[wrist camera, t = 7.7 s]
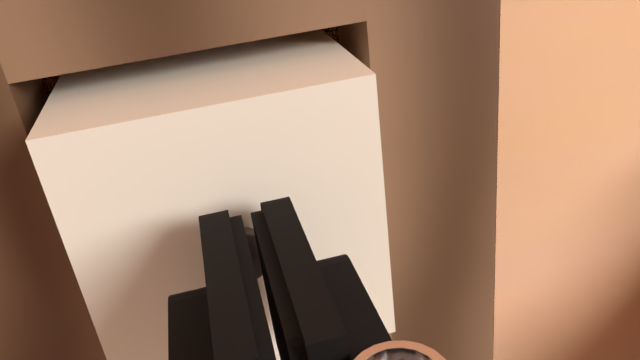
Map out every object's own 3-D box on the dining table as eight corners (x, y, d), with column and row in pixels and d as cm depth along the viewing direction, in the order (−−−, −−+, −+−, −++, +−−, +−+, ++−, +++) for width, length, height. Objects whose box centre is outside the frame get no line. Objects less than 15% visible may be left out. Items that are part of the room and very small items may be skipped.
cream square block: (317, 26, 15) (381, 78, 10) (342, 233, 17) (400, 340, 13) (63, 70, 14) (21, 147, 9) (131, 283, 16) (123, 415, 12)
